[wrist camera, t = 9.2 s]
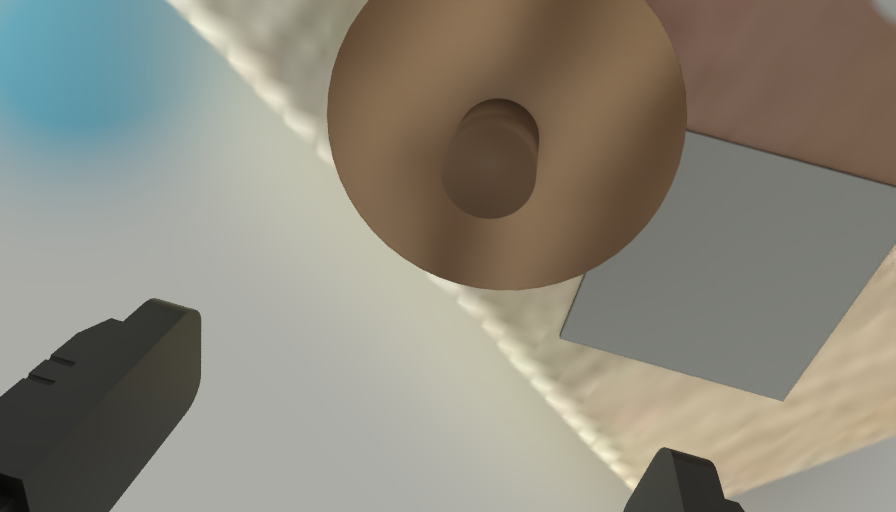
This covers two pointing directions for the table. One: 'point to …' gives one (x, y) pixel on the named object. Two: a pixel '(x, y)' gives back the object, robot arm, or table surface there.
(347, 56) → the lid
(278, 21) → the table surface
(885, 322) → the table surface
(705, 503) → the robot arm
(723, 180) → the mat
